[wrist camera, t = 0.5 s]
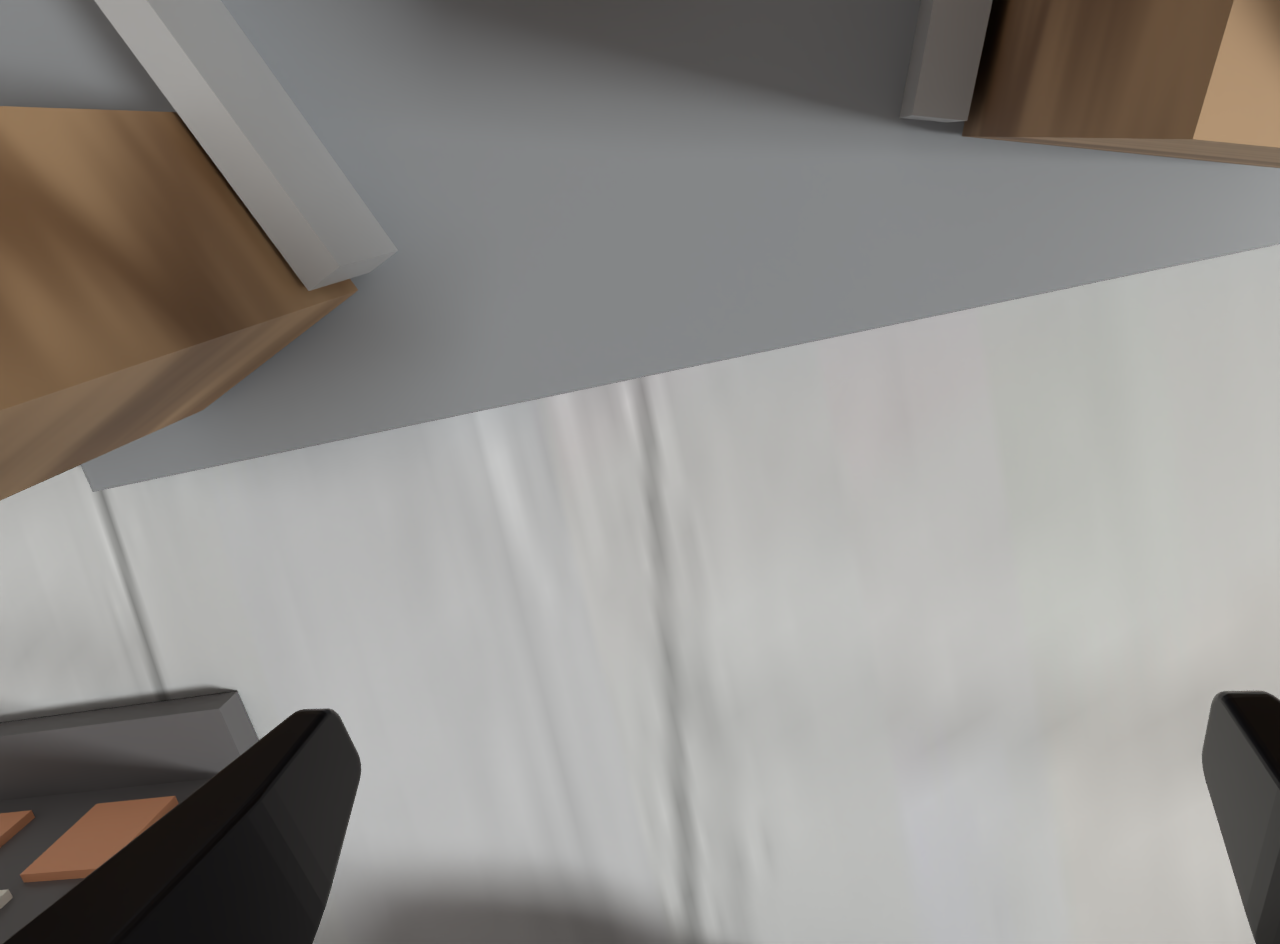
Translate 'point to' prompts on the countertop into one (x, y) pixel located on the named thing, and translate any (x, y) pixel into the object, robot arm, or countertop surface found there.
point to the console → (600, 188)
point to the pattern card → (100, 787)
